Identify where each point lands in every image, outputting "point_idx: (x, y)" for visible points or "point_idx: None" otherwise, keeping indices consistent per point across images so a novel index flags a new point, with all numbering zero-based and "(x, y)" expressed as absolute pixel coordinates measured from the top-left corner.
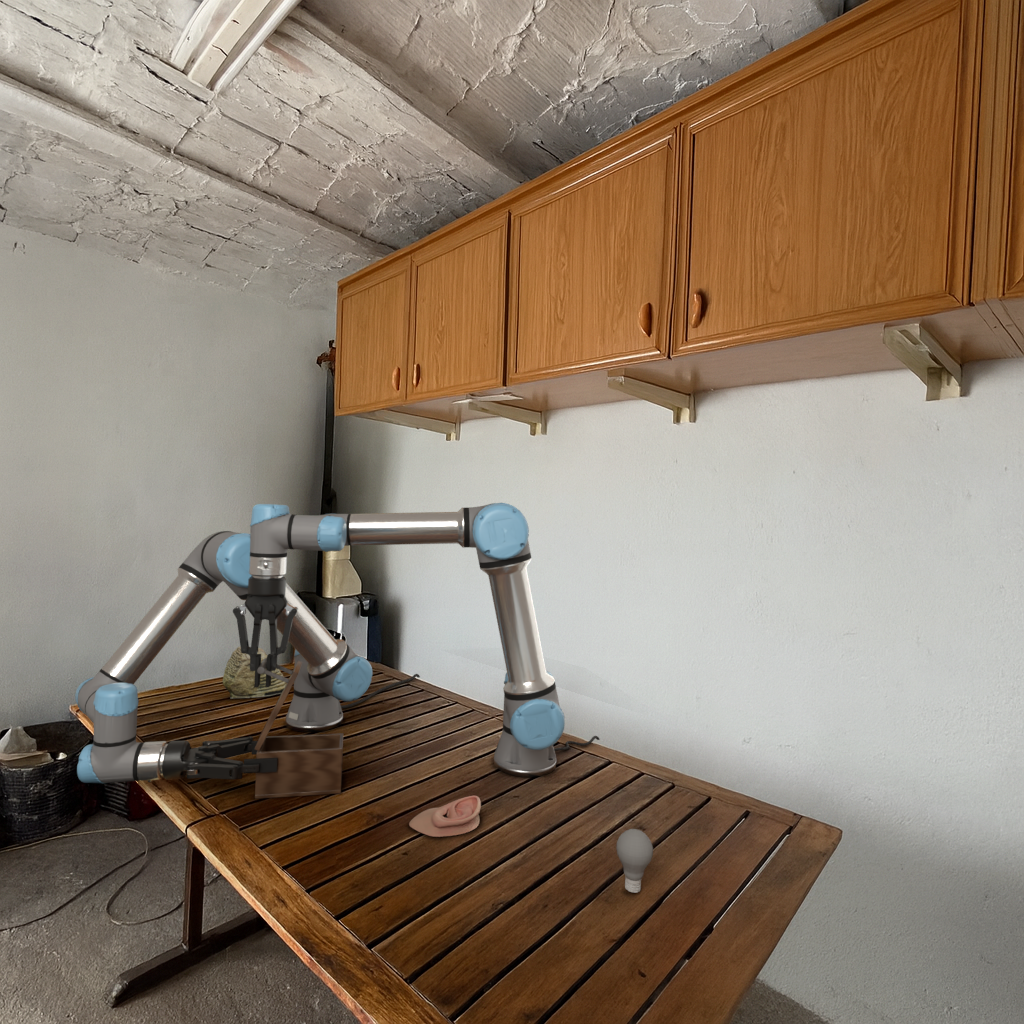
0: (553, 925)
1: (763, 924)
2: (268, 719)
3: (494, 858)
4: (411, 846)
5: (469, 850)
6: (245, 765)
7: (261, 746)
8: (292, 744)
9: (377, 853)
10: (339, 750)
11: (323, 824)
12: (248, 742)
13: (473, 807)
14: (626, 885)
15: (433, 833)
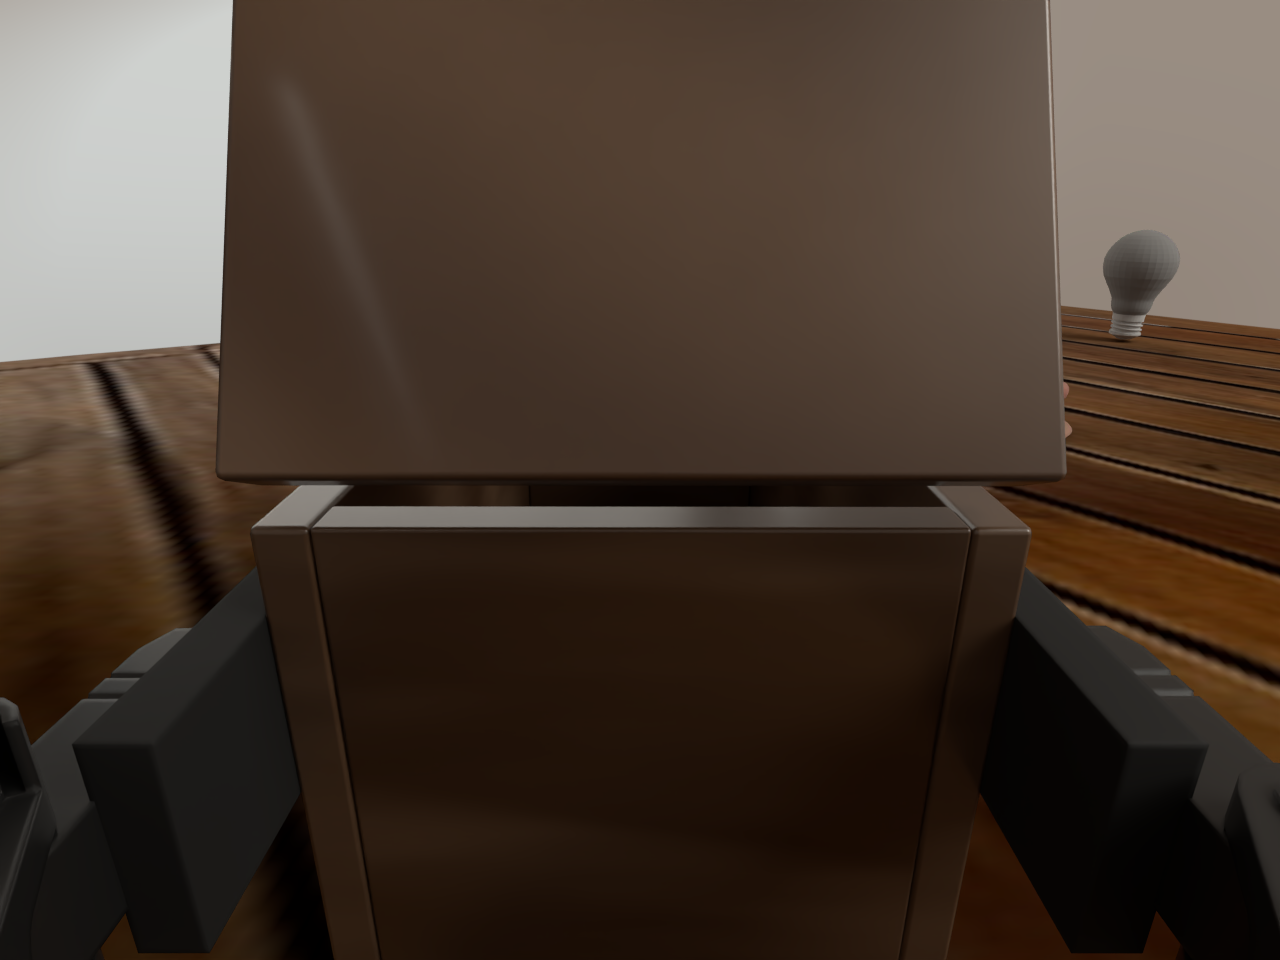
0: None
1: None
2: (488, 81)
3: (1111, 393)
4: (1151, 458)
5: (1097, 408)
6: (1261, 760)
7: (738, 511)
8: None
9: (1264, 502)
10: None
11: (1145, 614)
12: (35, 829)
13: None
14: (1135, 329)
15: (1066, 422)
